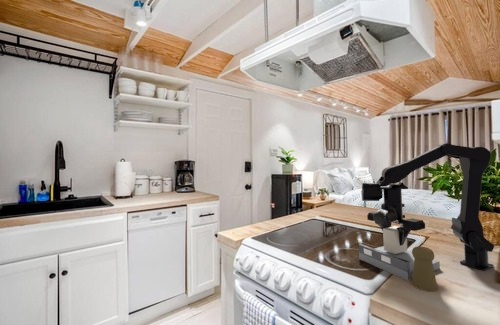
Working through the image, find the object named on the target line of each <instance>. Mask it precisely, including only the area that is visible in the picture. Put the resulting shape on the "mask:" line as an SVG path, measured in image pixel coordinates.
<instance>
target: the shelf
mask: <svg viewBox="0 0 500 325" xmlns="http://www.w3.org/2000/svg"><path fill="white" fill-rule="evenodd" d="M358 259H359V260H361V261H362V262H365V263H367V264H370V265H372V266H373V267H376V268H379V269H381V270H383V271H385V270H386V271H385V272H387V271H388V272H387V273H389V274H390V273H391V274H392V275H395V276H397V277H399V278H402V279H404V280H405V281H412V278H413V269H414V260H415V258H414V257H413V254H412V251H408V250H407V251H404V252H401V253H397V254H394V253H391V252H388V251H385V250H384V245H382V246H378V247H375V248H373V247H371V246H368V245H365V244H363V243H360V244H358ZM432 263H433V268H434V272H435V271H438V270H440V268H441V267H440V264H441V262H440V261H439V260H437V259H435V258H434V259H433V261H432Z"/></svg>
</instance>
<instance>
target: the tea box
mask: <svg viewBox="0 0 500 325" xmlns="http://www.w3.org/2000/svg"><path fill="white" fill-rule="evenodd" d="M398 227H399V226H397V225H391V227H388V228H383V231H382V234H383V238H382V239H383V246H384V250H385V251H388V252H391V253H394V254H397V253H401V252H404V251H408V240H407V238H408V237H407V238H406V240H405V242H404V244H403V245H402V246H401V245H400V242H399V231H398V229H397V228H398Z"/></svg>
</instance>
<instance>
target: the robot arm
mask: <svg viewBox="0 0 500 325" xmlns="http://www.w3.org/2000/svg"><path fill="white" fill-rule="evenodd" d="M443 157H449V158H453V159H456V160H459V166H460V168H461V171H462V173H463V175H462V176H463V177H462V187H461V188H462V189H461V199H460V212H459V214H458V216H457V218H456V217H451V223H452V224H451V226H450V229H451V230H452V233H453V235H454V236H456V238H458V239H459V242H460V243H463V244H464V245H463V248H464V259H463V260H460V261H459V264H461V265H465V266H469V267H471V268H474V269H478V270H480V271H486V270H489V269H491V268H494V266H495V264H493V263H489V252H490V253H492V252H493V251H494V248H495V245H494V244H493V243H492V242H490V241H489V240H488V239H487V238H485V234H484V228H483V224H482V222H481V220H480V207H481V195H482V185H483V184H482V183H483V175H484V173H485V172H486V170H487V169H488V167H489V165H490V161H491V158H492V152H491V151H490V150H489V149H488V148H487V147H485V146H472V147H471V146H470V147H469V146H465V145H464V146H463V145H456V144H452V143H449V142H447V143H441V144H438V145H437V146H435V147H433V148H431V149H429V150H427V151H425V152H422V153H421V154H418V155H417V156H415V157H413V158H411V159H408V160H407V161H404V162H401V163H397V164H394V165H391V166H388V167H385V168H383V169H382V171H381V176H380V177H379V178H378V180H377V181H376V182H375V183H373V182H372V183H369V182H362V183H361V191H360V192H361V200H362V202H379V201H380V200H382V199H383V203H381V205H380V207H381V208H379V209H378V210H376V211H371V212H370V211H369V212H368V214H367V215H366V217H367V220H368V221H372V222H374V223H375V224H376V225H378V227H380V228H381V231H382V232H383V228H388V227H392V223H394V224H397V225H398V224H399V225H400V226H397V227H398V228H397V229H398V231H399V242H400V245H401V246H402V245H403V244H404V242H405V240H406V238H408V236H409V234H410V233H411V231H413V232H414V231H415V232H416V231H420V230H424V229H426V223H425V221H424V220H423V219H418V218H414V217H413V218H412V217H411V218H407V219H405V218H406V214H403V208H404V207H405V203H403V199H402V198H403V196H402V195H403V194H402V193H403V192H402V190H408V189H409V187H408V186H406V184H404V183H403V180H404V179H405V178H407V177H408V176H410V174H411V173H413V172H415V171H417V170H419V169H420V168H423V167H425V166H427V165H429V164H431V163H433V162H436V161H437V160H440V159H442V158H443Z"/></svg>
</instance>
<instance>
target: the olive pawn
mask: <svg viewBox="0 0 500 325" xmlns="http://www.w3.org/2000/svg"><path fill="white" fill-rule="evenodd" d="M411 250H412V251H411V252H412V254H413V257H414V258H415V260H414V269H413V278H412V279H411V285H412V286H413V287H414V288H416V289H418V290H421V291H424V292H437V291H438V283H437V278H436V274H435V271H434V268H433V263H432V261H433V259H434V260H435V253H434V251H433V249H431V248H429V247H426V246H420V245H419V246H415V247H412V249H411Z"/></svg>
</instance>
